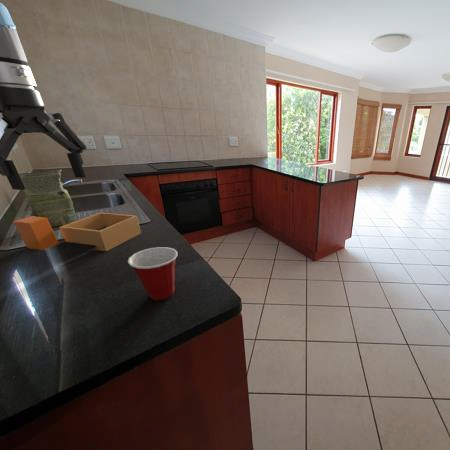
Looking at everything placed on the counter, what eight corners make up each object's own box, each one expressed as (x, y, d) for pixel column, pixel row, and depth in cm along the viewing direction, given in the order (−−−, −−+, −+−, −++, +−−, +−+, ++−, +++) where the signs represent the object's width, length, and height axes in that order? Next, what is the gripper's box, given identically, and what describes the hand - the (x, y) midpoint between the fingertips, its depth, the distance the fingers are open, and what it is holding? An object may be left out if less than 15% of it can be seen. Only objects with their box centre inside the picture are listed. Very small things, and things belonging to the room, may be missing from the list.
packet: (29, 252, 83) (13, 221, 78) (45, 246, 88) (31, 216, 83) (44, 255, 82) (29, 223, 77) (60, 248, 86) (47, 217, 82)
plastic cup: (190, 295, 63) (182, 256, 59) (143, 313, 57) (130, 272, 52) (179, 276, 71) (171, 241, 66) (137, 291, 65) (125, 253, 60)
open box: (67, 246, 88) (59, 227, 85) (106, 229, 102) (100, 212, 99) (106, 251, 85) (99, 231, 81) (141, 233, 99) (136, 215, 95)
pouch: (35, 235, 95) (5, 173, 86) (56, 224, 106) (32, 168, 96) (67, 233, 98) (41, 172, 88) (85, 222, 108) (64, 167, 98)
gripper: (-65, 77, 40) (-3, 197, 49) (85, 93, 63) (110, 174, 71) (-94, 78, 42) (-29, 194, 50) (63, 94, 64) (89, 172, 72)
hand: (53, 182), depth 61 cm, fingers open, 13 cm apart
